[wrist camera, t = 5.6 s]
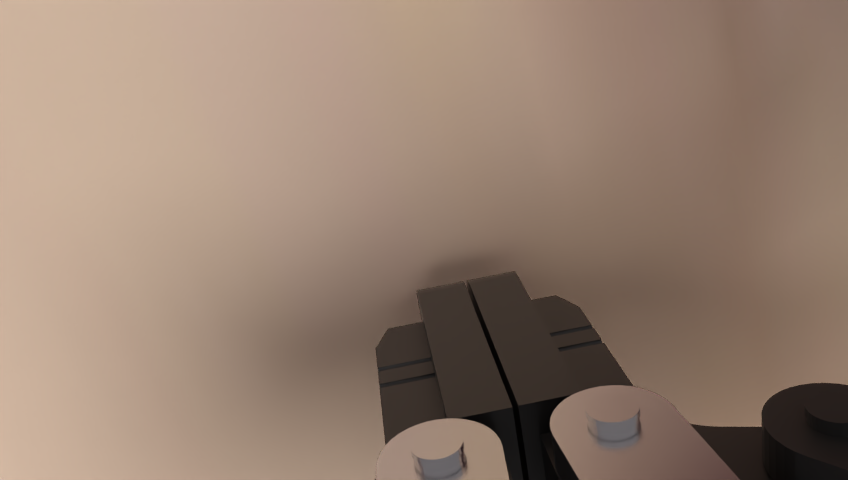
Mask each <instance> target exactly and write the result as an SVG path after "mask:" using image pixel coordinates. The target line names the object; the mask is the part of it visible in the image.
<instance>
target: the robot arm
mask: <svg viewBox="0 0 848 480" xmlns="http://www.w3.org/2000/svg"><path fill="white" fill-rule="evenodd" d="M417 297H418V303H419V308H420V314H421V319H422V322H420V323H415V324H410V325H405V326H400V327H395V328H390V329H388V330H387V331H386V333H385V334H384V336H383V338H382V339H381V341H380V342H379V344H378V346H377V347H376V356H377V366H378V375H379V385H380V395H381V405H382V415H383V425H384V435H385V446H384V448H383V449H382V451H381V452H380V454H379V457H378V459H377V464H376V479H375V480H848V385H842V384H832V383H812V384H804V385H798V386H794V387H790V388H788V389H785V390H782V391H780V392H778V393H777V394H775V395H773V396H772V397H771V398H770V399H769V400H768V401H767V402H766V403H765V405H764V407H763V410H762V427H713V426H701V425H694V424H690V423H689V422H688V421H687V420H686V419H685V418H684V417H683V416H682V415H681V413H680V412H679V411H678V410H677V409H676V408H675V407H674V406H673V405H672V404H671V403H670V402H669V401H668V400H667V399H665V398H664V397H662V396H660V395H659V394H656V393H654V392H652V391H649V390H646V389H643V388H638V387H634V386H633V385H632V383H631V382H630V381H629V379H628V378H627V376H626V375H625V373H624V372H623V370H622V369H621V367H620V366H619V364H618V363H617V361H616V360H615V359H614V357H613V356H612V354H611V353H610V351H609V350H608V348H607V347H606V345H605V344H604V343H602V341H601V338H600V337H599V335H598V334H597V332H596V331H595V329H594V328H593V329H592V325H591V323H590V322H589V320H588V319H587V318H586V316H585V315H584V313H583V312H582V310H581V309H580V307H578V306H576V305H574V304H572V303H570V302H568V301H566V300H564V299H562V298H560V297H558V296H556V295H555V296H550V297H545V298H540V299H535V300H531V299H530V297H529V296H528V294H527V292H526V290H525V288H524V287H523V285H522V283H521V281H520V279H519V278H518V276H517V274H516V273H515V272H514V271H513V272H508V273H503V274H498V275H493V276H488V277H483V278H477V279H472V280H467V288H466V286H465V283H464V282H458V283H453V284H448V285H443V286H438V287H433V288H427V289H422V290H417Z"/></svg>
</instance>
